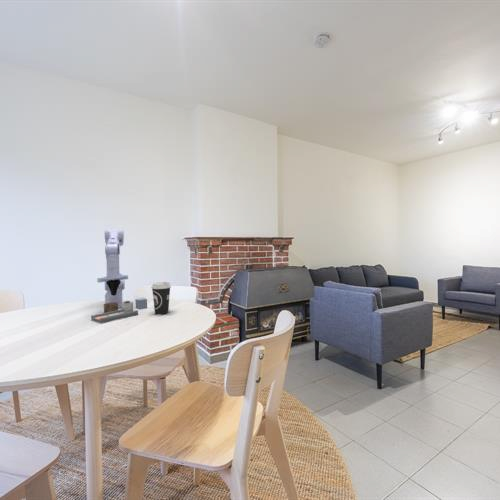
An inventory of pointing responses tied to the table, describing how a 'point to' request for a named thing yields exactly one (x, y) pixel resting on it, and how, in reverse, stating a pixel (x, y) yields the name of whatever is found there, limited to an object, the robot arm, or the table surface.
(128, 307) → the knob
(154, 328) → the table surface
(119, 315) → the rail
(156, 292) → the coffee cup
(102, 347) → the table surface
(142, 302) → the slate-blue block
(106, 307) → the walnut block
